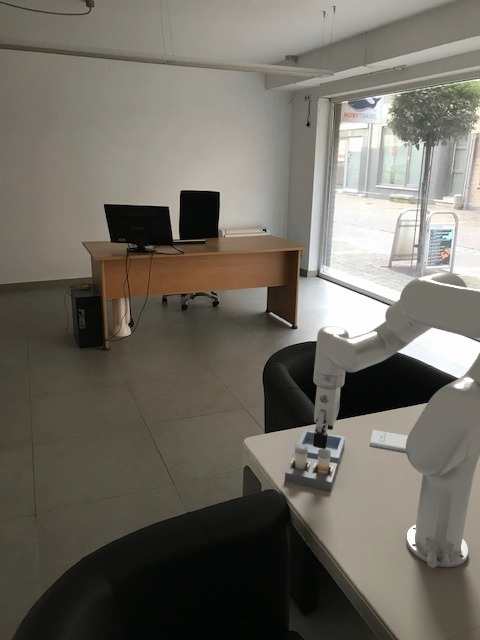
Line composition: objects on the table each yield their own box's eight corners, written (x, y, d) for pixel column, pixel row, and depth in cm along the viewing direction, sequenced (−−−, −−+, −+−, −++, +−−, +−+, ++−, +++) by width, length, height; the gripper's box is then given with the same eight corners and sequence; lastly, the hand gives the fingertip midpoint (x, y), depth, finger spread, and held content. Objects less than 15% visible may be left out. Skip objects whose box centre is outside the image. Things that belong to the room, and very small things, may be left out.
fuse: (304, 478, 138) (306, 451, 135) (292, 476, 139) (294, 449, 136) (307, 472, 141) (308, 445, 138) (295, 469, 142) (296, 443, 139)
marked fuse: (327, 483, 136) (329, 456, 133) (315, 480, 137) (317, 453, 134) (329, 476, 139) (331, 449, 136) (317, 474, 140) (319, 447, 137)
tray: (337, 467, 143) (338, 458, 142) (294, 459, 146) (295, 449, 145) (344, 446, 154) (345, 436, 153) (304, 438, 157) (304, 429, 156)
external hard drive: (414, 455, 150) (369, 446, 154) (414, 441, 158) (372, 433, 162) (414, 449, 150) (370, 441, 154) (415, 436, 157) (372, 428, 161)
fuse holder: (330, 490, 133) (331, 478, 132) (284, 481, 136) (285, 469, 135) (336, 471, 141) (337, 460, 140) (292, 462, 145) (293, 451, 144)
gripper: (338, 394, 120) (332, 458, 126) (349, 366, 136) (343, 424, 141) (306, 388, 123) (301, 452, 128) (320, 361, 138) (315, 419, 144)
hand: (323, 437), depth 135 cm, fingers open, 9 cm apart
